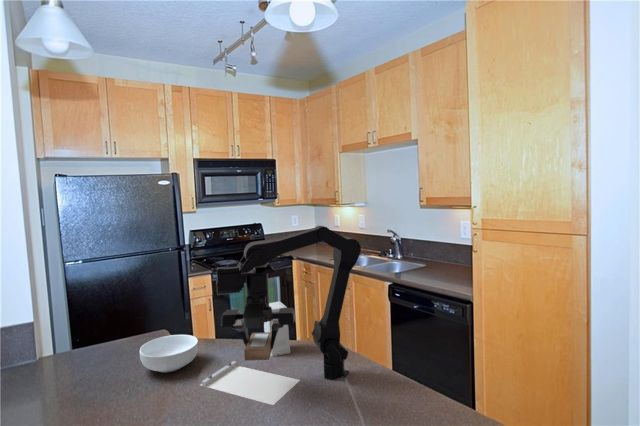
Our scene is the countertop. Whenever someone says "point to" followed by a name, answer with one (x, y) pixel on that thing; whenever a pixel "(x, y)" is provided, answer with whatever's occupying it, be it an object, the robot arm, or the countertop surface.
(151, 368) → the cereal bowl
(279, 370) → the countertop surface
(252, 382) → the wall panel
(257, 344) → the frame
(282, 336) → the skincare box
